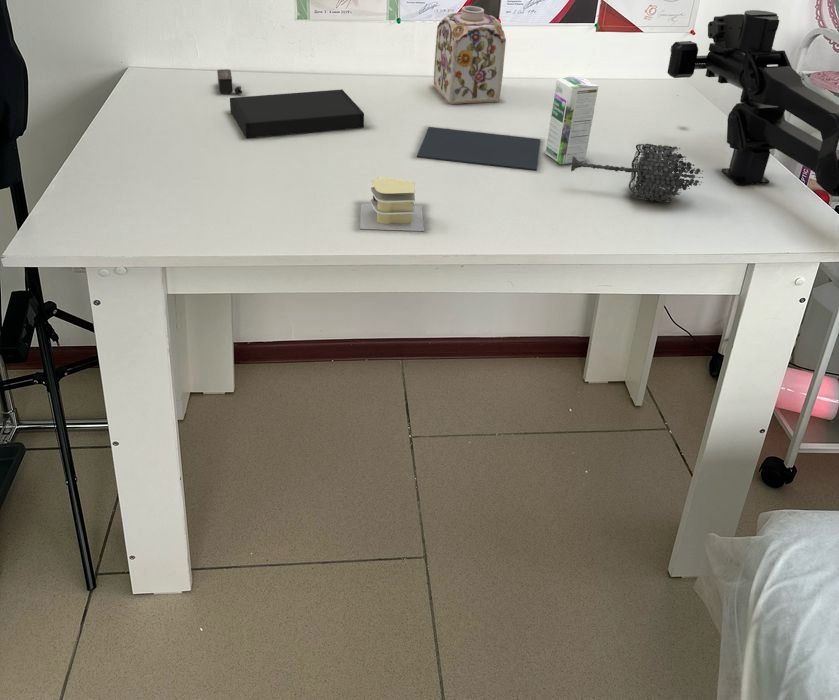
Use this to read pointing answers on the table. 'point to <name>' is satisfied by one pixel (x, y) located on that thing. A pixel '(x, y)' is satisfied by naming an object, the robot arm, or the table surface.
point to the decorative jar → (469, 57)
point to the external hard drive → (295, 113)
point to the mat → (480, 148)
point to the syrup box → (571, 119)
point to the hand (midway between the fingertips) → (692, 47)
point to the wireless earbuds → (226, 82)
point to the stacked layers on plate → (392, 207)
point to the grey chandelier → (654, 172)
